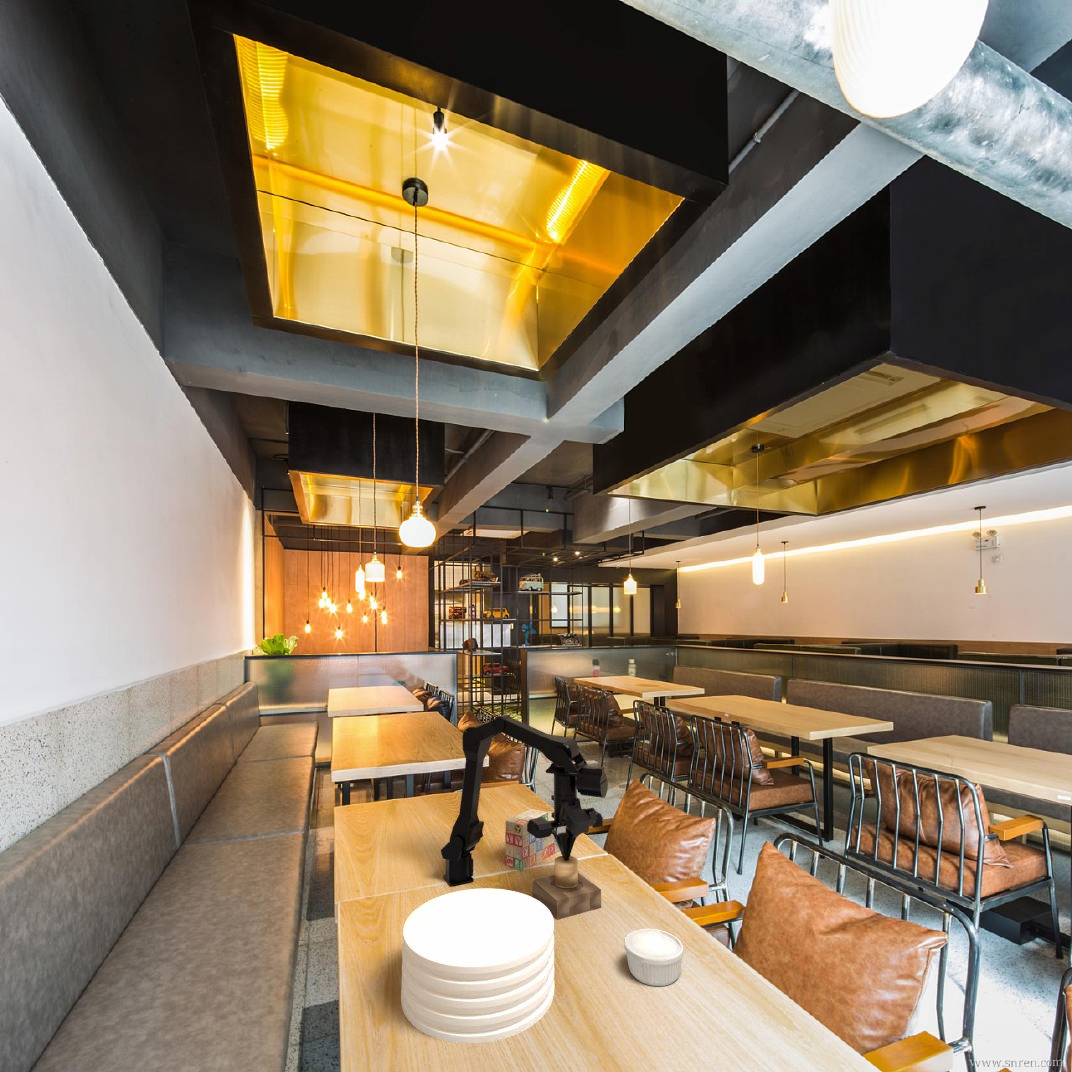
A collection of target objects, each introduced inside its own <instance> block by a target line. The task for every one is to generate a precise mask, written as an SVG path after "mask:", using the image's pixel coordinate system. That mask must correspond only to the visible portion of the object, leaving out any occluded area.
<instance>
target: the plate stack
mask: <svg viewBox="0 0 1072 1072" xmlns="http://www.w3.org/2000/svg"><path fill="white" fill-rule="evenodd" d="M554 933H555V920H554V916H553V915H552V914H551V912H550V911H549V909H548V908H547V907H546V906H545V905H544V904H542V903H541V902H540V901H538V900H536V899H535V898H533V896H531V895H528V894H525V893H522V892H518V891H515V890H509V889H503V888H489V887H487V888H485V887H484V888H471V889H463V890H457V891H453V892H448V893H446V894H442V895H440V896H437V897H434V898H432V899H430V900H428V901H425V902H424V903H423V904H421V905H420V906H418V907H417V908H416V909H414V910H413V911H412V912H411V913H410V914H409V915H408V917H407V918H406V920H405V922H404V925H403V928H402V947H401V948H402V949H401V950H402V952H401V953H402V956H401V957H402V959H401V960H402V961H401V992H400V1006H401V1009H402V1012H403V1014H404V1016H405V1018H406V1017H407V1018H406V1019H407V1020H408V1021H410V1022H411V1023H410V1022H409V1023H410V1024H411V1025H412V1026H413V1027H414V1028H416V1029H417V1030H418V1031H420V1032H422V1033H423V1034H425V1035H427V1036H429V1037H432V1038H434V1039H438V1040H441V1041H444V1042H448V1043H454V1044H455V1043H456V1044H468V1045H469V1044H482V1043H483V1044H485V1043H491V1042H496V1041H500V1040H504V1039H508V1038H511V1037H513V1036H516V1035H518V1034H520V1033H522V1032H523V1031H525V1030H527V1029H529V1028H531V1027H533V1026H534V1025H535V1024H536V1023H537V1022H539V1021H540V1020H541V1019H542V1018H543V1017H544V1016H545V1014H546V1013H547V1012H548V1011H549V1010H550V1007H551V1005H552V1003H553V1000H554V997H555V935H554Z"/></svg>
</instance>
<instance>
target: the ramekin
mask: <svg viewBox="0 0 1072 1072" xmlns="http://www.w3.org/2000/svg"><path fill="white" fill-rule="evenodd" d="M681 941H682V940H680V939H679V938H678V937H676V935H673V934H672V933H670V932H667V931H664V930H663V929H662V930H661V929H657V928H640V929H636V930H632V931H630V932H629V933H628V934H627V935H626V936H625V938H624V940H623V945H624V950H625V955H626V958H627V964H628V970H629V971H630V973H631V974H632V976H633V977H634V978H635V979H636V980H638V981H639V982H641V983H643V984H645V985H648V986H652V987H665V986H669V985H672V984H673V983H675V982H676V981H677V979H678V978H679V977H680V975H681V974H680V973H681V967H682V960H683V956H684V951H685V950H684V945H683V942H681Z"/></svg>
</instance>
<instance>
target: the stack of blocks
mask: <svg viewBox="0 0 1072 1072" xmlns="http://www.w3.org/2000/svg"><path fill="white" fill-rule="evenodd" d="M553 812H554V811H543V810H538V809H534V808H529V809H527V810H526V811H524V812H521V813H519V814H516V815H515V816H513V817H510V818H508V819H506V820H505V835H504V836H505V837H504V838H505V839H504V840H505V867H509V868H512V869H514V870H518V871H521V872H523V871H525V870H527V869H530V868H531V867H533V866H535V865H537V864H539V863H541V862H543V861H544V860H546V859H547V858H549V857H550V856H552V855H554V854H556V853H558V852H561V851H560V849H559V846H558V844H557V841H556V839H555V838H554V836H553V834H551V835H550V837H545V838H536V837H534V836H533V835H532V834H530V833H529V832H527V824H528V822H529V820H530V819H535V818H541V817H542V818H544V819H545V820H547V821H553V820H554V818H552V813H553Z"/></svg>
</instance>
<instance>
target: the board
mask: <svg viewBox="0 0 1072 1072" xmlns="http://www.w3.org/2000/svg"><path fill="white" fill-rule="evenodd" d="M532 895H533V896H532V897H533V898H535V899H536V900H538V901H540V902H541V903H542V904H544V905H545V906H546V907H547V908H548V909H549V911H550V912H551V914H552V916H553V918H555V919H556V920H560V919H565V918H567V917H572V916H574V915H579V914H582V913H587V912H591V911H593V910H597V909H601V908H602V889H601V888H600V887H599V886H597V885H595V884H594V883H593V882H591V881H590V879H588V878H586V877H585V876H584V875H582V874H581V873H579V872H578V886H577V887H576V888H575V889H571V890H563V889H559V888H557V887H556V886H555V874H554V875H548V876H545V877H540V878H536V879H533V881H532Z"/></svg>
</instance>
